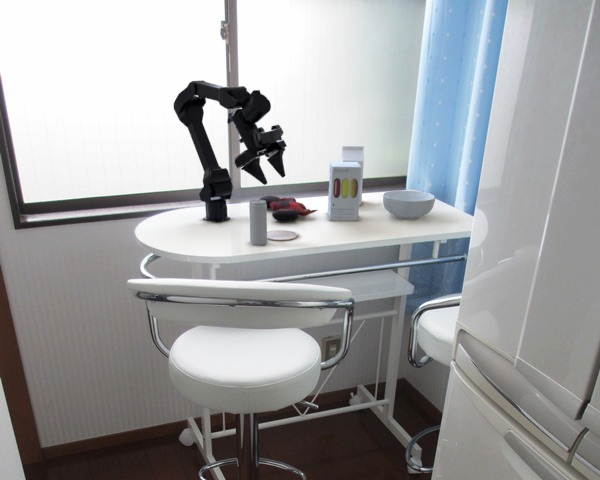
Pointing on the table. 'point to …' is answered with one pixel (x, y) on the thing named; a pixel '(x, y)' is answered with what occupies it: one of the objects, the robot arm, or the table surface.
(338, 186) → the supplement box
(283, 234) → the cork coaster
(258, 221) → the beverage can
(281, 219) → the toy motorcycle
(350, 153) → the milk carton
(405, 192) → the cereal bowl
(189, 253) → the table surface
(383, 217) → the table surface
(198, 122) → the robot arm
